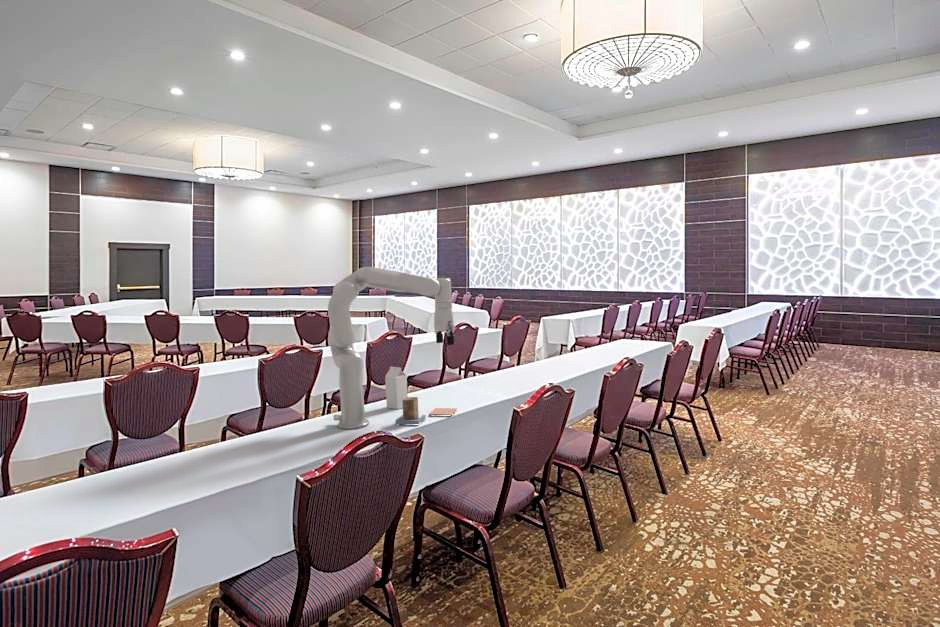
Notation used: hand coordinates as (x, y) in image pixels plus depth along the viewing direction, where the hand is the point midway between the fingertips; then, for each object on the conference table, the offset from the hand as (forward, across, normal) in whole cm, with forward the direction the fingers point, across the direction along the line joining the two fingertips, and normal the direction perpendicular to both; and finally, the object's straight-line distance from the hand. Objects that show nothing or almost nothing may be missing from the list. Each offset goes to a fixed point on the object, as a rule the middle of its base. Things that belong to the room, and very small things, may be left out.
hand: (445, 343), depth 242 cm
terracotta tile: (+30, +4, -5) cm, 31 cm away
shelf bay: (+30, +7, -22) cm, 38 cm away
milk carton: (+31, -20, -16) cm, 40 cm away
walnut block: (+30, +7, -22) cm, 38 cm away
